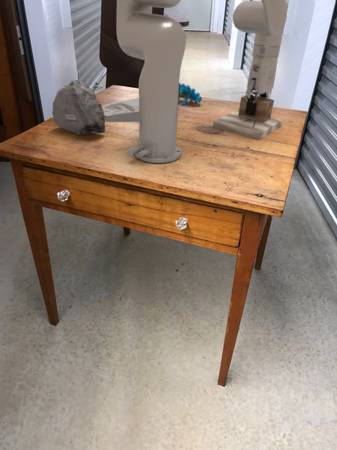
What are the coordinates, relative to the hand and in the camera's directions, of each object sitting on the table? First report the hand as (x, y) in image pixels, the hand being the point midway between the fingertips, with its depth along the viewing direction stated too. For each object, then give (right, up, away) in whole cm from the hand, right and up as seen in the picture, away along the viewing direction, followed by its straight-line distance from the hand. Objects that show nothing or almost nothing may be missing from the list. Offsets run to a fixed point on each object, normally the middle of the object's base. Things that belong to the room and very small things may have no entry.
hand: (255, 111), depth 115 cm
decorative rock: (-54, -10, -11) cm, 56 cm away
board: (-3, -5, 0) cm, 6 cm away
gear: (-21, +9, +18) cm, 29 cm away
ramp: (-39, -1, +4) cm, 40 cm away
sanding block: (0, -2, +1) cm, 2 cm away
